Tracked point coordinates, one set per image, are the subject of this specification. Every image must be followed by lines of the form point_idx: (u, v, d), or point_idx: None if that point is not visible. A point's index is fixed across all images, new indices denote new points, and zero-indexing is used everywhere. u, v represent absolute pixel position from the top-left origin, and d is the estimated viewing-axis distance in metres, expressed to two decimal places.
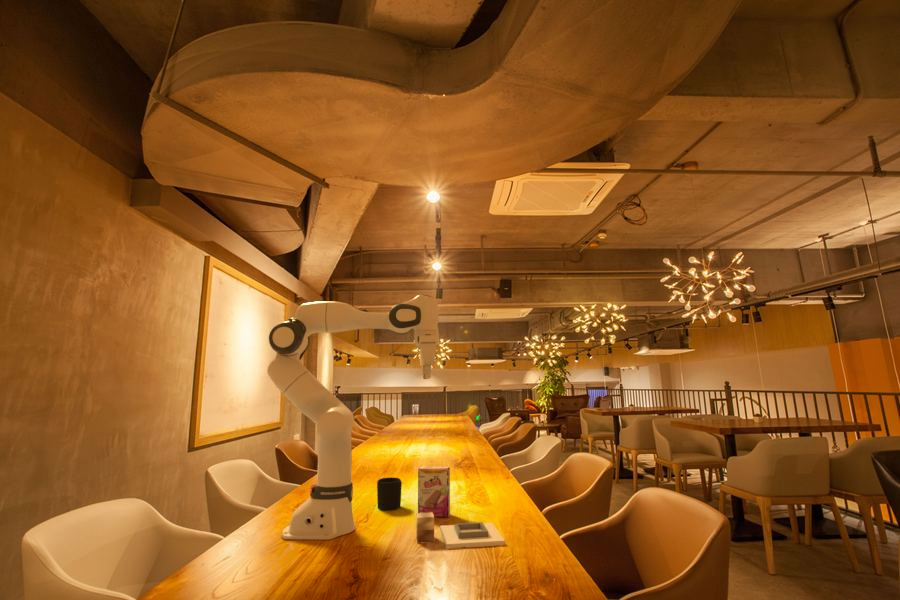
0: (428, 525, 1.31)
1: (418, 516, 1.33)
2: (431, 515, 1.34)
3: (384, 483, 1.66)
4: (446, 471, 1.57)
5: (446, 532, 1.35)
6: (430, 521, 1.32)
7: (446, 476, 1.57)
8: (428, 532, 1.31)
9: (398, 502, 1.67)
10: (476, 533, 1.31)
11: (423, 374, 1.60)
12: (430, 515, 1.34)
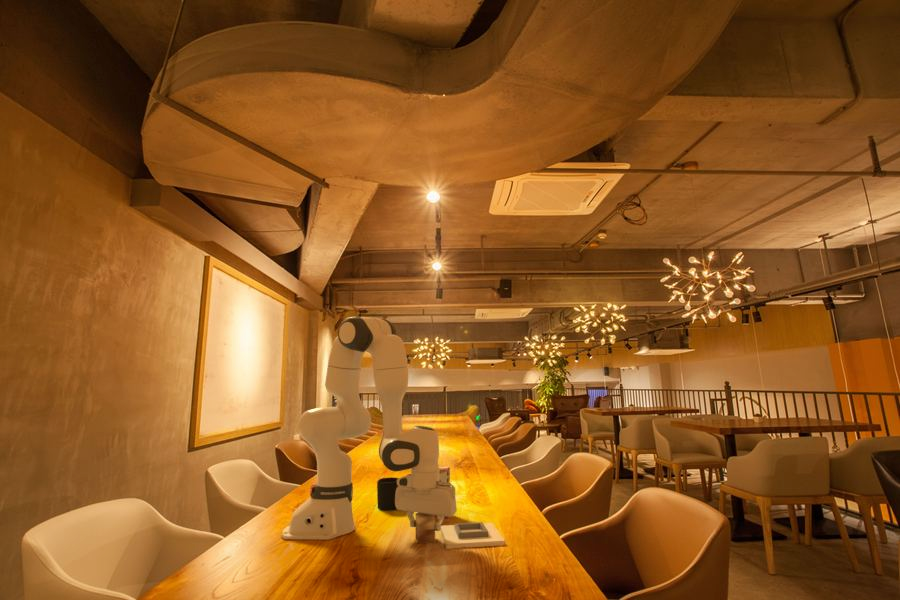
0: (428, 525, 1.31)
1: (419, 516, 1.32)
2: (431, 515, 1.34)
3: (384, 483, 1.66)
4: (446, 471, 1.57)
5: (446, 532, 1.35)
6: (431, 520, 1.32)
7: (446, 476, 1.57)
8: (429, 532, 1.31)
9: None
10: (476, 533, 1.31)
11: (436, 523, 1.33)
12: (430, 515, 1.34)
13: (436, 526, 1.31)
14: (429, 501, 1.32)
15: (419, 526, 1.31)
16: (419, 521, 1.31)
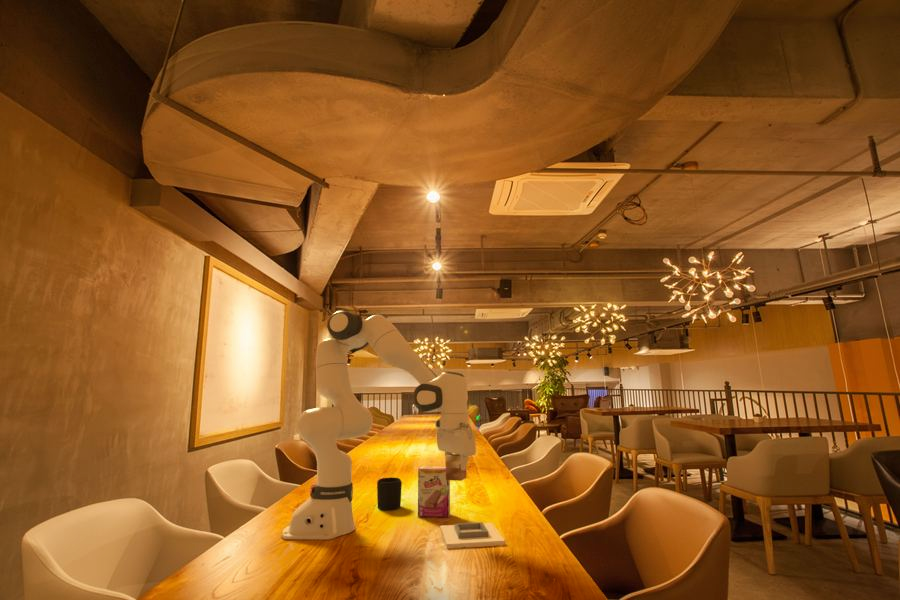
0: (455, 464, 1.36)
1: (448, 455, 1.38)
2: None
3: (384, 483, 1.66)
4: None
5: (446, 532, 1.35)
6: (456, 460, 1.36)
7: None
8: (455, 471, 1.35)
9: (398, 502, 1.67)
10: (476, 533, 1.31)
11: None
12: (459, 455, 1.38)
13: (460, 465, 1.34)
14: (454, 441, 1.37)
15: (446, 464, 1.37)
16: (446, 459, 1.37)
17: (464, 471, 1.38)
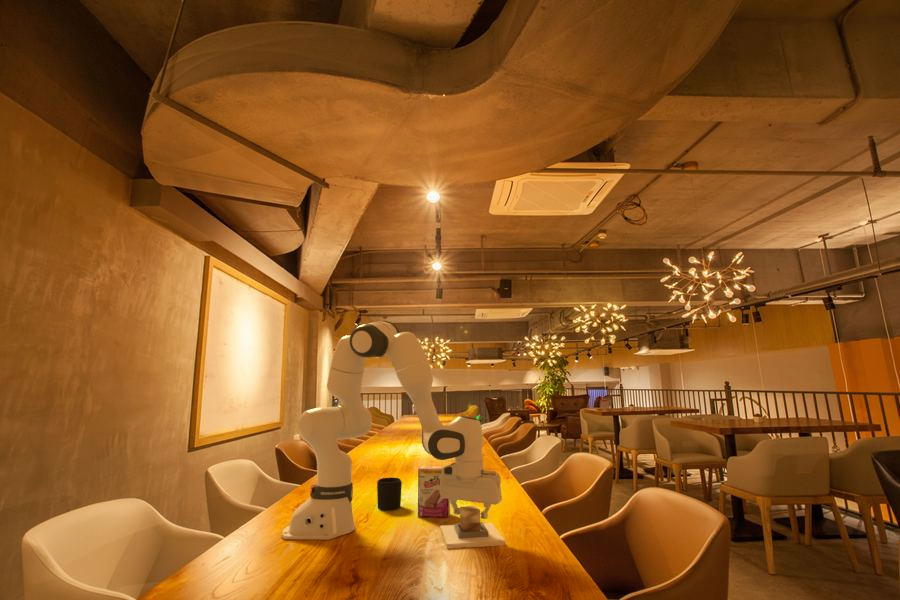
0: (474, 518, 1.33)
1: (464, 510, 1.34)
2: (476, 508, 1.36)
3: (384, 483, 1.66)
4: None
5: (446, 532, 1.35)
6: (476, 514, 1.34)
7: None
8: (475, 525, 1.33)
9: (398, 502, 1.67)
10: (476, 533, 1.31)
11: (483, 511, 1.35)
12: (475, 508, 1.36)
13: (483, 514, 1.33)
14: (475, 490, 1.35)
15: (465, 519, 1.33)
16: (465, 514, 1.33)
17: None
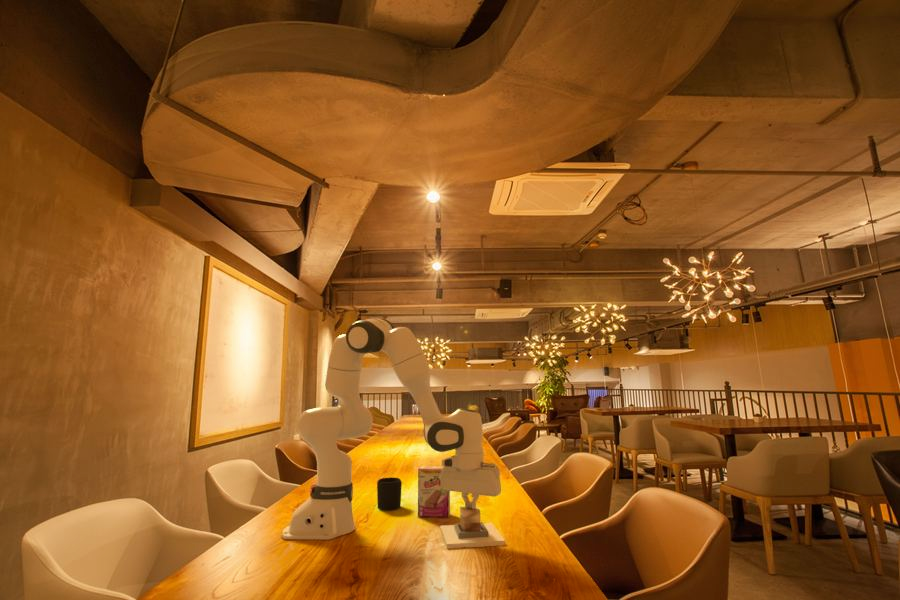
0: (474, 518, 1.33)
1: (464, 509, 1.34)
2: (476, 508, 1.36)
3: (384, 483, 1.66)
4: None
5: (446, 532, 1.35)
6: (476, 514, 1.34)
7: None
8: (475, 525, 1.33)
9: (398, 502, 1.67)
10: (476, 533, 1.31)
11: (471, 502, 1.37)
12: (475, 508, 1.36)
13: (471, 504, 1.35)
14: (474, 482, 1.35)
15: (465, 519, 1.33)
16: (465, 514, 1.33)
17: None
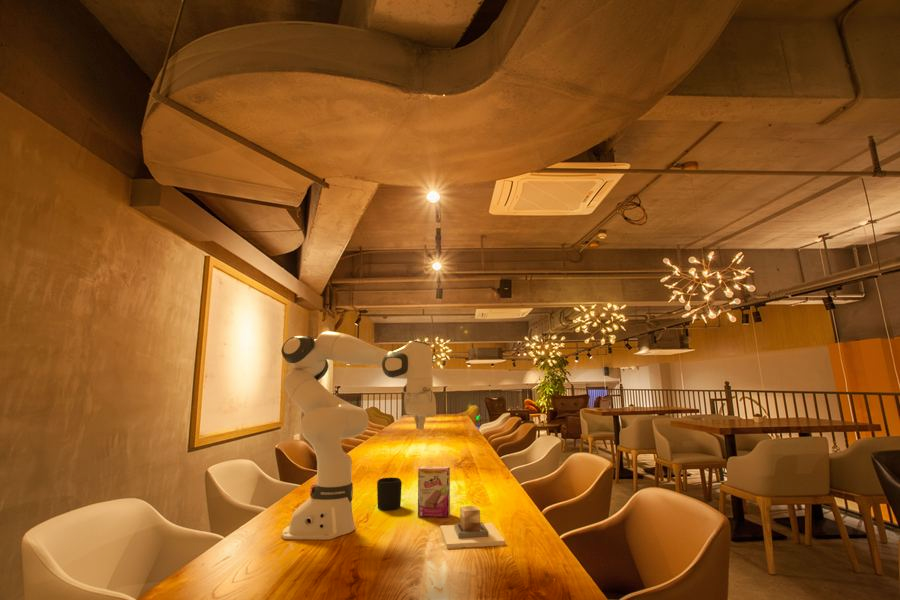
0: (474, 518, 1.33)
1: (464, 509, 1.34)
2: (476, 508, 1.36)
3: (384, 483, 1.66)
4: (446, 471, 1.57)
5: (446, 532, 1.35)
6: (476, 514, 1.34)
7: (446, 476, 1.57)
8: (475, 525, 1.33)
9: (398, 502, 1.67)
10: (476, 533, 1.31)
11: None
12: (475, 508, 1.36)
13: (418, 425, 1.47)
14: (417, 404, 1.47)
15: (465, 519, 1.33)
16: (465, 514, 1.33)
17: None
